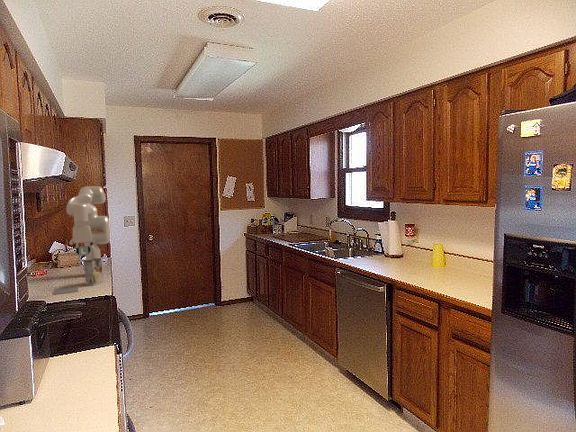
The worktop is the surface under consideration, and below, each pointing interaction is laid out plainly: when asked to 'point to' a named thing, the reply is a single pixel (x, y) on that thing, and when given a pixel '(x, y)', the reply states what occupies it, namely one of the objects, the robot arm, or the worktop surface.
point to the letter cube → (83, 250)
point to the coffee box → (93, 271)
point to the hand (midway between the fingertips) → (83, 253)
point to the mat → (65, 290)
